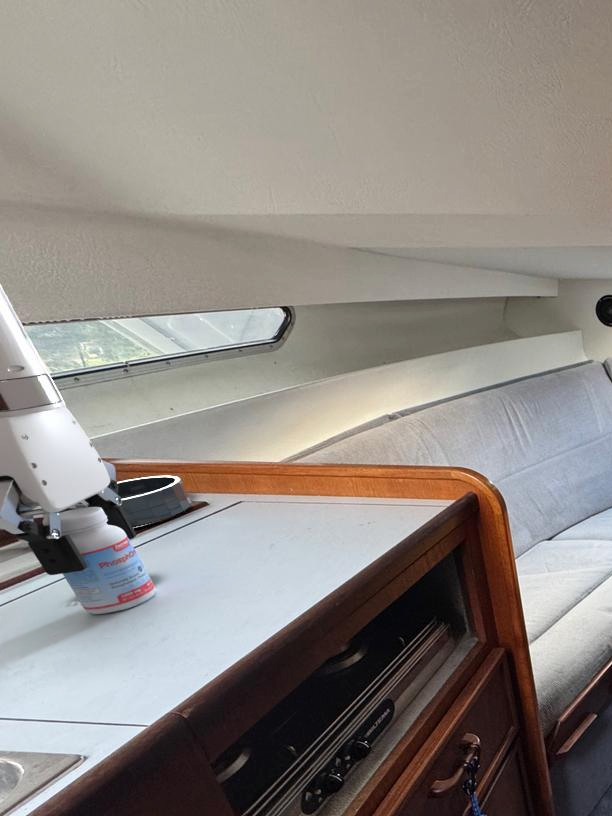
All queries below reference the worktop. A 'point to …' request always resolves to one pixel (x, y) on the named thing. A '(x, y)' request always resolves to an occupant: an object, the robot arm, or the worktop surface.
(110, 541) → the pill bottle
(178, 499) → the bowl
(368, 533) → the worktop surface
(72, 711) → the worktop surface
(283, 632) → the worktop surface
